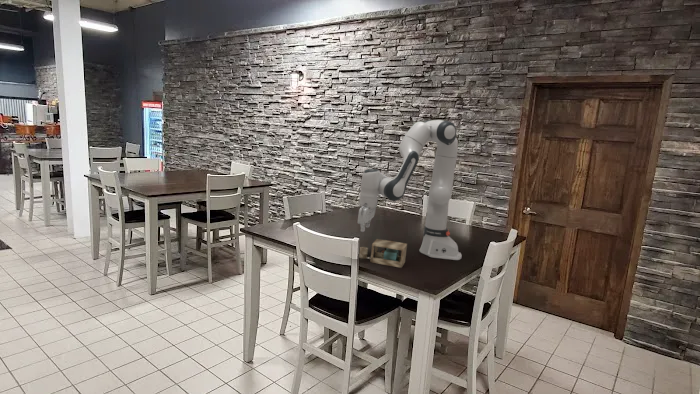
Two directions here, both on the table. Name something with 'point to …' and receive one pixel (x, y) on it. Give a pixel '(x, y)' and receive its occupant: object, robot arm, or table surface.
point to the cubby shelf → (392, 246)
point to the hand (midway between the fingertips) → (365, 229)
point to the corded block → (388, 254)
